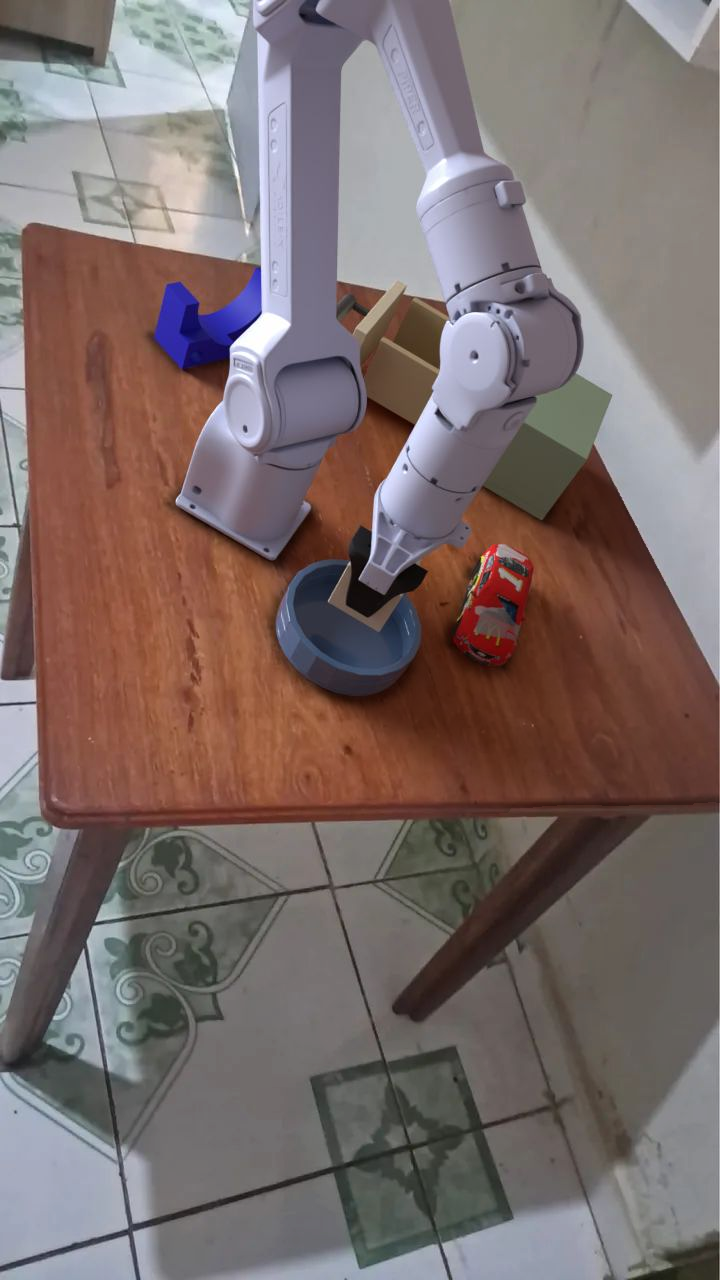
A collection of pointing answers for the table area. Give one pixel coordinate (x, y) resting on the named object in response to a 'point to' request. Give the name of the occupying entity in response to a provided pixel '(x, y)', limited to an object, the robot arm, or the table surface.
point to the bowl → (343, 635)
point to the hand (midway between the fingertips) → (370, 587)
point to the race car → (494, 606)
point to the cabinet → (550, 446)
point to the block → (374, 621)
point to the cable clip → (205, 324)
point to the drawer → (398, 351)
